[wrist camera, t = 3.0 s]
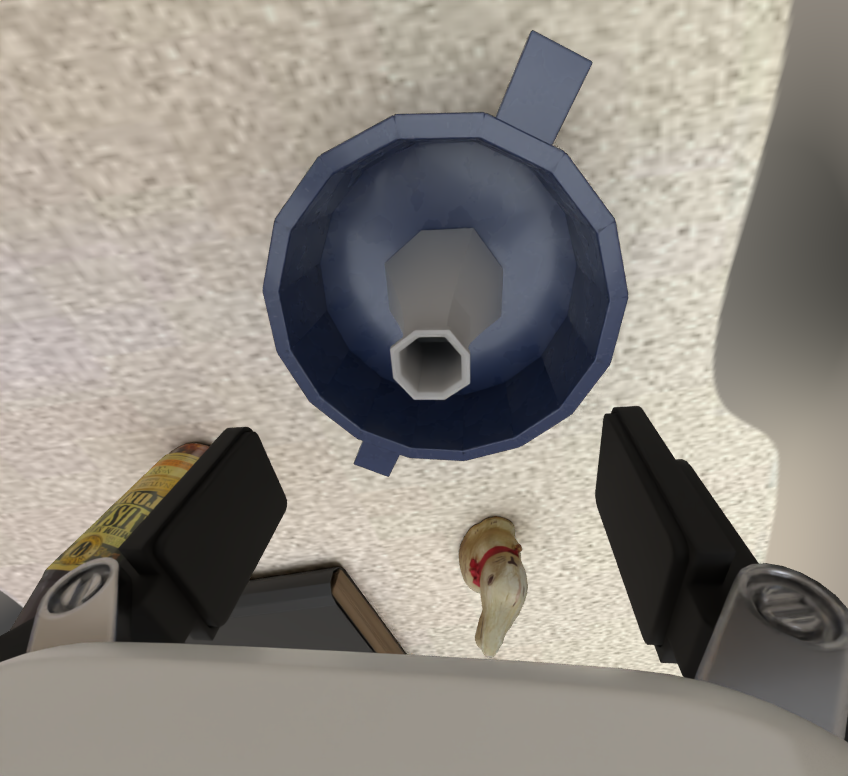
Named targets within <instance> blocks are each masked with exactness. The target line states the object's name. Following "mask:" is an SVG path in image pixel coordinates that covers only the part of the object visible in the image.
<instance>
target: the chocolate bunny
mask: <svg viewBox="0 0 848 776" xmlns="http://www.w3.org/2000/svg"><path fill="white" fill-rule="evenodd" d="M514 536H515V529H514V525H513V524H512V522H511V521H509V520H507V519H505V518H502V517H497V516H495V517H491V518H487V519H485V520H484V521H483V522H481V523H479V524H476V525H474V526H473V527H471V528H470V530H469V531H468V532H467V534H466V536H464V539H463V541H462V543H461V546H460V549H459V564H460V569H461V573H462V576H463V579H464V581H465V583H466V584H467V585H468V587H469V588H470V589H472V590H473V591H475V592H477V593H480V594H481V601H482V608H483V610H482V613H481V616H480V619H479V622H478V626H477V631H476V634H475V641H476V644H477V646H478V647H479V648H481V649H482V652H483V654H484V655H485V657H489V658H492V657H494V656H495V655H496V653H497V652H498V650H499V648H500V646H501V645H502V644H503V640H504V637H505V635H506V633H507V631H508V630H509V629H510V628H511V626H512V624H513V622H514V621H515V619H516V618H517V616H518V615H519V613H520V610H521V608H522V607H523V604H524V601H525V598H526V595H527V589H528V584H527V576H526V572H525V569H524V567H523V564H522V562H521V553H520V551H522V547H521V545H520V544H518V542H517V541H516V539H515V538H514Z"/></svg>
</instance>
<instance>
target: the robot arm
mask: <svg viewBox="0 0 848 776" xmlns="http://www.w3.org/2000/svg"><path fill="white" fill-rule="evenodd" d="M595 498H596V504H597V508H598V511H599V513H600V516H601V519H602V522H603V525H604V528H605V531H606V534H607V536H608V539H609V542H610V545H611V548H612V551H613V554H614V557H615V559H616V562H617V565H618V568H619V571H620V574H621V577H622V580H623V582H624V585H625V588H626V591H627V594H628V597H629V600H630V603H631V605H632V608H633V611H634V614H635V617H636V620H637V623H638V625H639V628H640V631H641V634H642V637H643V639H644V641H645V643H646V644H647V645H654V646H655V648H656V651H657V654H658V657H659V659H660V662H661V663H677V664H678V666H679V668H680V671H681V673H682V676H683V677H680V676H675V675H670V674H663V673H655V672H647V671H639V670H631V669H622V668H610V667H597V666H583V665H570V664H557V663H543V662H529V661H511V660H494V659H476V658H458V657H440V656H423V655H405V654H386V653H366V652H347V651H327V650H307V649H287V648H267V647H245V646H222V645H200V644H184V643H185V641H186V639H187V638H188V636H189V635H190V637H191V638H192V639H193V640H208V641H213V639H214V638H215V636H216V634H217V632H218V630H219V628H220V627H221V626H223V625H224V624H225V623H226V622H227V621H228V619H229V617H230V615H231V613H232V612H233V610H234V608H235V606H236V604H237V602H238V600H239V598H240V596H241V594H242V593H243V591H244V589H245V587H246V585H247V583H248V581H249V579H250V577H251V576H252V574H253V572H254V570H255V568H256V566H257V564H258V562H259V560H260V558H261V557H262V555H263V553H264V551H265V549H266V547H267V545H268V543H269V541H270V539H271V538H272V536H273V534H274V532H275V530H276V528H277V526H278V524H279V522H280V521H281V519H282V517H283V515H284V513H285V511H286V508H287V499H286V496H285V494H284V492H283V489H282V487H281V485H280V483H279V480H278V478H277V476H276V474H275V472H274V469H273V467H272V465H271V463H270V460H269V458H268V456H267V454H266V451H265V449H264V447H263V445H262V442H261V440H260V438H259V436H258V434H257V433H256V432H253V431H252V429H250V428H249V427H236V428H227V429H226V430H224V431H223V432H222V433H221V435H220V436H219V437H218V438H217V439H216V440H215V441H214V442H213V443H212V445H211V446H210V447H209V448H208V449H207V450H206V451H205V452H204V453H203V455H202V456H201V457H200V458H199V459H198V460H197V461H196V462H195V463H194V465H193V466H192V467H191V468H190V469H189V470H188V471H187V472H186V473H185V475H184V476H183V477H182V478H181V479H180V480H179V481H178V482H177V483H176V484H175V486H174V487H173V488H172V489H171V490H170V491H169V492H168V493H167V494H166V496H165V497H164V498H163V499H162V500H161V501H160V502H159V503H158V504H157V506H156V507H155V508H154V509H153V510H152V511H151V512H150V513H149V514H148V516H147V517H146V518H145V519H144V520H143V521H142V522H141V523H140V524H139V526H138V527H137V528H136V529H135V530H134V531H133V532H132V533H131V534H130V536H129V537H128V538H127V539H126V540H125V541H124V542H123V543H122V544H121V545H120V547H119V548H118V550H119V551H120V552H121V553H122V555H123V556H124V558H123V559H122V560H121V562H120V563H118V562H117V561H116V560H114V559H113V558H108V557H103V558H98V559H94V560H91V561H89V562H86V563H84V564H82V565H80V566H78V567H76V568H75V569H73V570H71V571H70V572H69V573H67V574H66V575H64V576H63V577H62V578H60V579H59V580H58V581H57V582H56V583H55V584H54V585H53V586H52V587H51V588H50V589H49V590H48V591H47V593H46V594H45V595H44V597H43V598H42V599H41V602H40V604H39V606H38V608H37V612H36V616H35V617H34V618H32V619H30V620H28V621H27V622H25V623H23V624H21V625H19V626H17V627H16V628H14V629H12V630H10V631H8V632H7V633H5V634H3V635H1V636H0V776H848V608H847V607H846V606H845V605H844V604H843V603H842V602H841V601H840V600H839V598H838V597H837V596H836V595H835V594H833V593H832V592H831V591H829V590H828V589H827V588H826V587H824V586H823V585H822V584H820V583H819V582H817V581H815V580H813V579H811V578H810V577H808V576H806V575H804V574H803V573H801V572H797V571H795V570H792V569H790V568H787V567H784V566H779V565H773V564H767V563H763V564H759V563H758V562H757V560H756V559H755V557H754V556H753V555H752V553H751V552H750V550H749V549H748V547H747V546H746V545H745V543H744V542H743V540H742V539H741V537H740V536H739V534H738V533H737V532H736V530H735V529H734V527H733V526H732V524H731V523H730V521H729V520H728V519H727V517H726V516H725V514H724V513H723V511H722V510H721V508H720V507H719V506H718V504H717V503H716V501H715V500H714V498H713V497H712V496H711V494H710V493H709V491H708V490H707V488H706V487H705V485H704V484H703V483H702V481H701V480H700V478H699V477H698V475H697V474H696V472H695V471H694V470H693V468H692V467H691V466H690V464H689V463H688V462H687V461H685V460H683V459H676V460H675V458H674V456H673V455H672V453H671V452H670V450H669V449H668V447H667V446H666V444H665V443H664V441H663V440H662V438H661V437H660V435H659V434H658V432H657V431H656V429H655V428H654V426H653V425H652V423H651V422H650V420H649V418H648V417H647V415H646V414H645V412H644V411H643V409H642V408H641V407H639V406H630V407H614V408H613V409H612V412H611V413H609V414H605V415H604V419H603V427H602V436H601V445H600V454H599V463H598V472H597V481H596V490H595Z"/></svg>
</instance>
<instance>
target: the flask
mask: <svg viewBox="0 0 848 776" xmlns="http://www.w3.org/2000/svg"><path fill="white" fill-rule="evenodd" d="M385 272H386V281H387V291H388V300H389V309H390V312H391V314H392V315H393V317H394V318H395V320H396V321H397V323H398V325H399V327H400V329H401V331H402V333H403V338H401V339H400V340H399V341H397V342H396V343H395V344H393V345H392V346H391V348H390V354H391V362H392V371H393V378H394V379H395V380H396V381H397V383H398V384H399V385H400V386H401V387H402V388H403V389H404V390H405V391H406V392H407V393H408V394H409V395H410V396H411V397H412V398H413V399H414V400H445V399H447V398H448V397H450V396H451V395H453V394H454V393H456V392H458V391H459V390H461V389H462V388H464V387H465V386H467V385H468V384H470V351H469V349H468V347H469V345H470V343H471V342H472V341H473V340H474V339H475V338H476V337H477V336H478V335H480V334H481V333H482V332H483V331H484V330H485V329H486V328H487V327H489V326H490V325H491V324H493V323H494V322H495V321H497V320H498V319H499V318H500V317H501V305H502V283H503V268H502V267H501V266H500V264H499V263H498V261H497V260H496V259H495V257H494V256H493V255H492V253H491V252H490V250H489V249H488V248H487V246H486V245H485V244H484V242H483V241H482V239H481V238H480V237H479V235H478V234H477V232H476V231H475V230H474V228H462V229H441V230H421V231H420V232H419V233H418V234H417V235H416V236H415V237H413V238H412V239H411V240H410V241H409V242H408V243H407V244H406V245H405V246H403V247H402V248H401V249H400V250H399V251H398V252H397V253H396V254H394V255H393V256H392V257H391V258H390V259H389V260H388V261H387V262H386V263H385Z"/></svg>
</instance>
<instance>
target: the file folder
mask: <svg viewBox="0 0 848 776" xmlns="http://www.w3.org/2000/svg"><path fill="white" fill-rule="evenodd" d="M184 644H200V645H222V646H245V647H267V648H287V649H307V650H327V651H347V652H366V653H386V654H405V652H404V651H403V650H402V648H401V647H400V646H399V644H398V643H397V641H396V640H395V639H394V637H393V636H392V635H391V633H390V632H389V630H388V629H387V628H386V626H385V625H384V624H383V622H382V621H381V619H380V618H379V617H378V615H377V614H376V612H375V611H374V610H373V608H372V607H371V606H370V604H369V603H368V601H367V600H366V599H365V597H364V596H363V595H362V593H361V592H360V590H359V589H358V588H357V586H356V585H355V583H354V582H353V581H352V579H351V578H350V577H349V575H348V574H347V572H346V571H345V570H344V569H343V568H340V567H335V568H329V569H322V570H316V571H309V572H302V573H296V574H289V575H282V576H276V577H269V578H263V579H256V580H249V581H248V583H247V585H246V587H245V589H244V591H243V593H242V594H241V596H240V598H239V600H238V602H237V604H236V606H235V608H234V610H233V612H232V613H231V615H230V617H229V619H228V621H227V622H226V623H225V624H224V625H223V626H221V627H220V628H219V630H218V632H217V634H216V636H215V638H214V639H213V641H208V640H193V639H192V638H191V637H190V635H189V636H188V638H187V639H186V641H185V643H184ZM405 655H406V654H405Z"/></svg>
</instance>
